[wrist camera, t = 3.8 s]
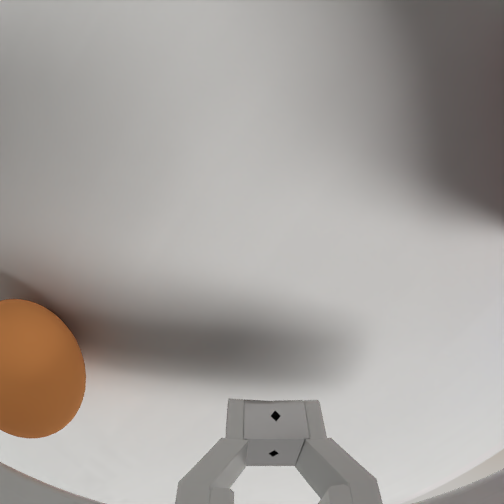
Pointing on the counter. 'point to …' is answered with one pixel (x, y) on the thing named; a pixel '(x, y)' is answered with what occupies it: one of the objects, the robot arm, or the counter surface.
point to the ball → (37, 370)
